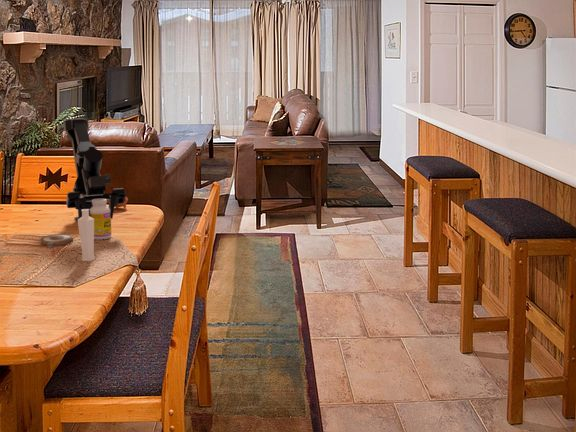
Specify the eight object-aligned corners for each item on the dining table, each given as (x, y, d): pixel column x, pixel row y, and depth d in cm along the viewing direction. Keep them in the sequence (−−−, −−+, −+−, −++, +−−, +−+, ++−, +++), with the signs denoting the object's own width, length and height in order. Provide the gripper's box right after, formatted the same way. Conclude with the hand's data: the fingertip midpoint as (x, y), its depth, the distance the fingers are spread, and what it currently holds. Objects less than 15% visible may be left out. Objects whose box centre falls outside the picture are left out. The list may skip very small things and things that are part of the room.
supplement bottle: (105, 240, 209) (103, 202, 206) (87, 239, 210) (84, 201, 207) (115, 235, 215) (113, 198, 212) (97, 234, 217) (94, 197, 214)
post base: (48, 236, 213) (48, 232, 213) (78, 236, 214) (78, 232, 213) (33, 247, 201) (33, 243, 201) (65, 247, 201) (65, 243, 201)
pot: (116, 211, 249) (113, 194, 249) (106, 212, 255) (102, 196, 254) (133, 207, 255) (130, 190, 255) (123, 208, 261) (119, 192, 260)
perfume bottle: (89, 256, 192) (86, 207, 189) (99, 258, 190) (96, 209, 186) (76, 259, 189) (73, 210, 185) (86, 262, 186) (83, 212, 183)
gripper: (65, 167, 207) (73, 208, 200) (123, 164, 215) (133, 202, 208) (63, 187, 215) (70, 227, 208) (119, 183, 224) (128, 221, 217)
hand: (101, 219), depth 210 cm, fingers closed on supplement bottle, 7 cm apart
